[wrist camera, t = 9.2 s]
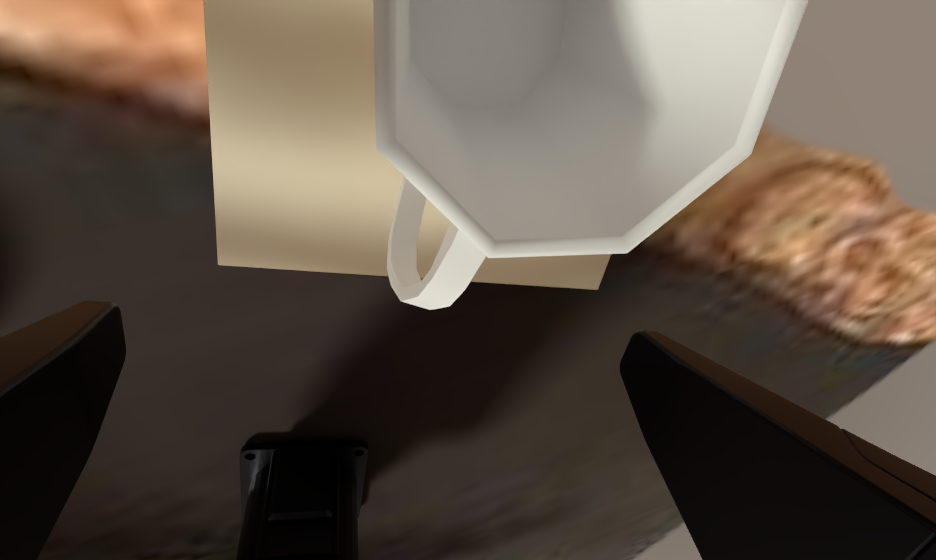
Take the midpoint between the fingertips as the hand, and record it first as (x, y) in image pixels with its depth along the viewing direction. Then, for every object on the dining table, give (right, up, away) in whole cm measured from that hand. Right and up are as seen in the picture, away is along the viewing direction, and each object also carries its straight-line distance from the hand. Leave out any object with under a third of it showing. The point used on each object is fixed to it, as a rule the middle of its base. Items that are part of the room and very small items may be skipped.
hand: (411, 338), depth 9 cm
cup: (+1, +7, +6) cm, 9 cm away
